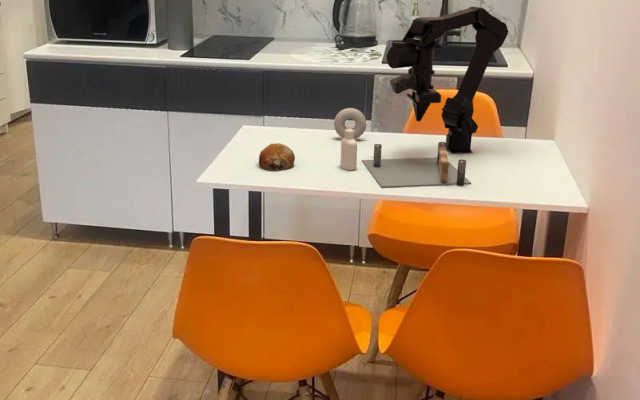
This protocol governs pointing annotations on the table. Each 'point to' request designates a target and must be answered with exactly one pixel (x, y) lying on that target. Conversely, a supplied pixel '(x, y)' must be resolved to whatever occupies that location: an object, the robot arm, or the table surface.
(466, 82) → the robot arm
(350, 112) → the donut
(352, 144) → the eye dropper bottle
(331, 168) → the table surface
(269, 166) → the bread roll
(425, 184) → the mat
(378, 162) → the gate posts
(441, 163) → the gate
